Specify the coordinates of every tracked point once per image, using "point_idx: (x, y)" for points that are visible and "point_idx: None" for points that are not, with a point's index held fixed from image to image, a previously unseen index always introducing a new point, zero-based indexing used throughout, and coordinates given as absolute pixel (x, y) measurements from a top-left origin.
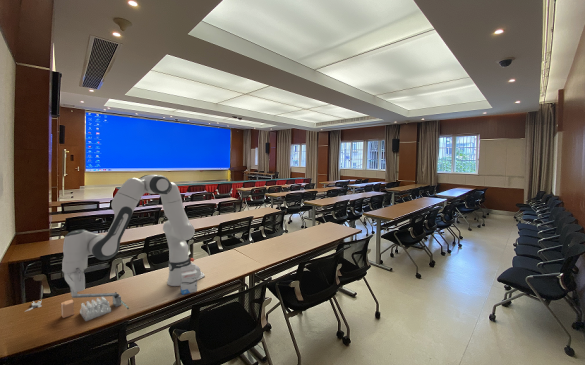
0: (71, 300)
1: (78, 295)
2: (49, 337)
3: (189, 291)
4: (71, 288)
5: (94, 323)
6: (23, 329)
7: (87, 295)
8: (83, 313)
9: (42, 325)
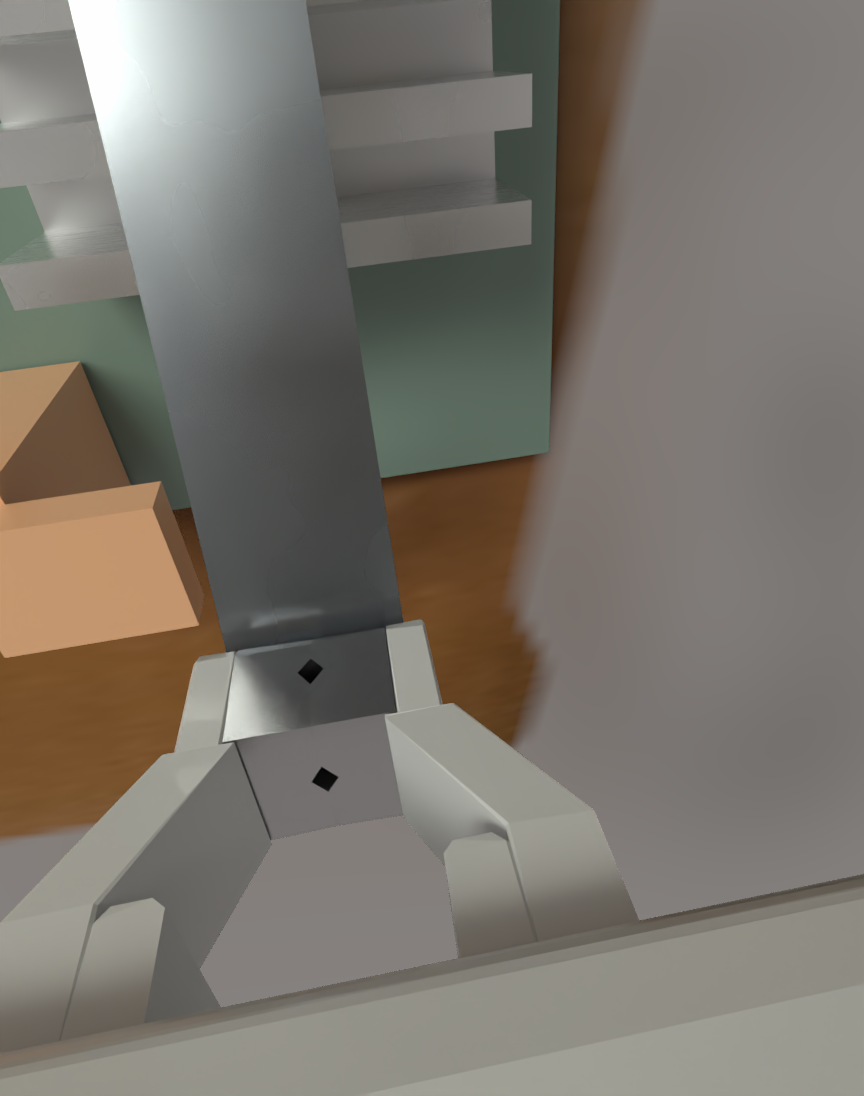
0: (11, 544)
1: (349, 553)
2: (486, 567)
3: None
4: (213, 932)
5: (583, 95)
6: (121, 745)
7: (340, 272)
8: None
9: (137, 636)
